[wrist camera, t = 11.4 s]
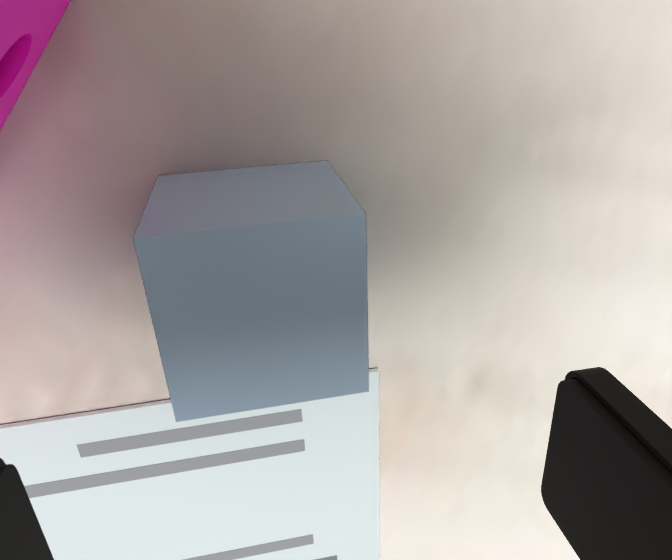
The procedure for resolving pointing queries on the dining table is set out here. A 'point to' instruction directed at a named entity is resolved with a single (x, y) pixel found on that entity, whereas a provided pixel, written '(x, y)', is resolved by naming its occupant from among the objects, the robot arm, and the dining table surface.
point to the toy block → (23, 43)
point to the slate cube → (256, 287)
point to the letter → (206, 481)
